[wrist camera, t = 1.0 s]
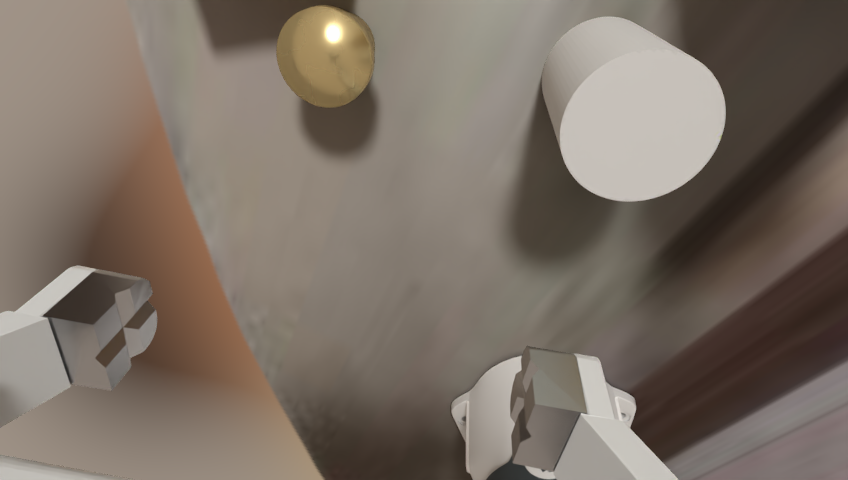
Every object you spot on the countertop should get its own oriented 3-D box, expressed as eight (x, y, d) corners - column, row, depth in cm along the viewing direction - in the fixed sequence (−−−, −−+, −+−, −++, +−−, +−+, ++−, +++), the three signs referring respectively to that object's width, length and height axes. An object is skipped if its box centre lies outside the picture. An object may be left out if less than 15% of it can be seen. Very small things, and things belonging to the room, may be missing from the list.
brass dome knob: (394, 80, 39) (379, 101, 34) (317, 92, 40) (292, 113, 35) (377, -10, 36) (358, -1, 31) (294, 6, 37) (263, 16, 32)
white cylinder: (588, 153, 40) (621, 227, 29) (518, 77, 37) (527, 129, 27) (683, 78, 36) (758, 132, 26) (612, -11, 34) (663, 10, 24)
